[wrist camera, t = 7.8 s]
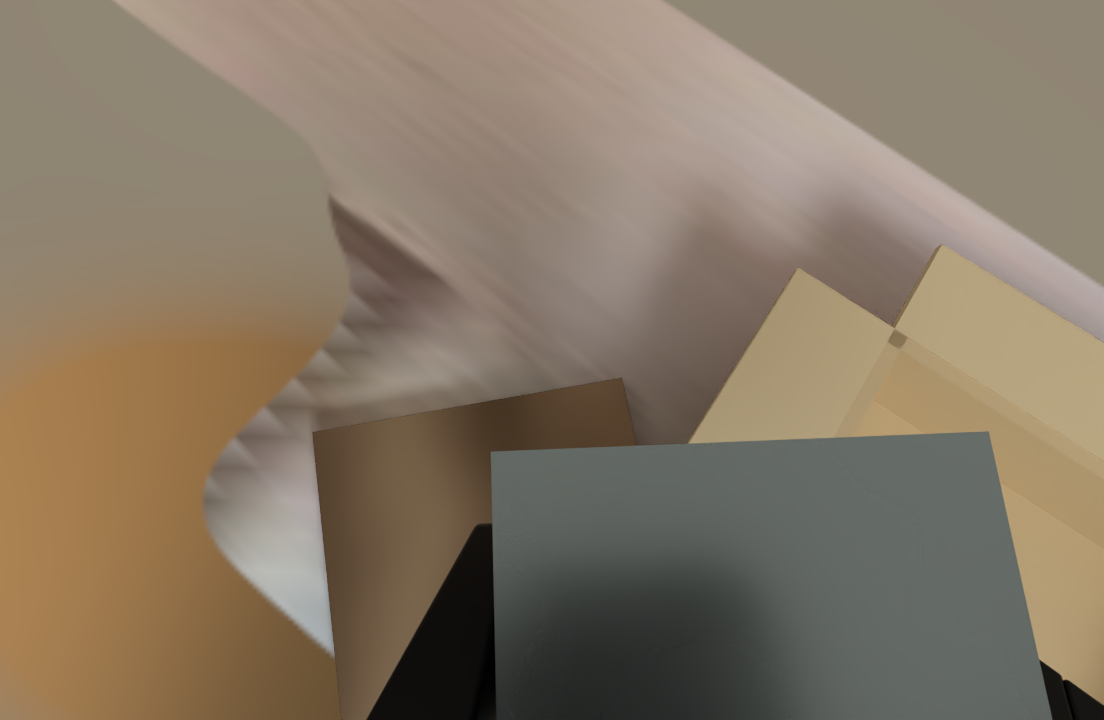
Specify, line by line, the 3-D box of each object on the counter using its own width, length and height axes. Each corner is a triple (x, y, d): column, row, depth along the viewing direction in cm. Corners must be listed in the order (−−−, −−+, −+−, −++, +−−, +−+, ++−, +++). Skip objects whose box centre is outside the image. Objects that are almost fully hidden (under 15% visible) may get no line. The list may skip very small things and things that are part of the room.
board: (354, 774, 20) (347, 785, 19) (320, 434, 22) (312, 432, 21) (686, 699, 21) (692, 706, 20) (618, 382, 23) (621, 377, 22)
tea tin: (702, 677, 15) (1133, 1056, 4) (513, 689, 15) (497, 1123, 4) (683, 486, 16) (992, 425, 6) (508, 494, 16) (484, 446, 5)
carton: (1118, 1229, 18) (1308, 1460, 14) (474, 742, 20) (462, 806, 16) (1331, 582, 23) (1523, 599, 18) (791, 242, 25) (848, 186, 20)
